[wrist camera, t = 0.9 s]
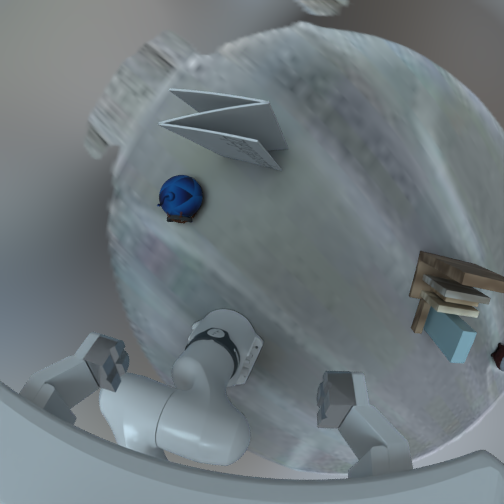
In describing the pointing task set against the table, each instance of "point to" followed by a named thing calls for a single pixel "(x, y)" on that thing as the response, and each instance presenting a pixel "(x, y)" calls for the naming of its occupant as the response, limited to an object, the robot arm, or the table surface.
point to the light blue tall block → (450, 334)
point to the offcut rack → (448, 270)
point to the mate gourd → (499, 357)
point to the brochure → (230, 126)
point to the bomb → (180, 198)
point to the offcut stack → (452, 296)
